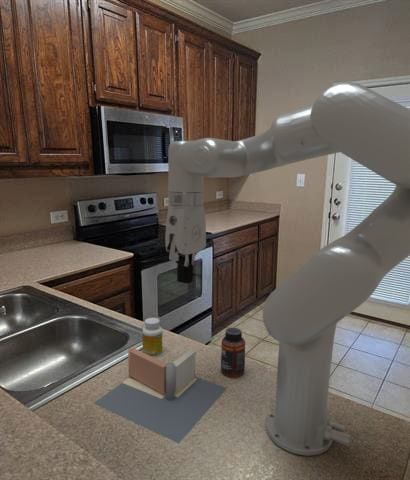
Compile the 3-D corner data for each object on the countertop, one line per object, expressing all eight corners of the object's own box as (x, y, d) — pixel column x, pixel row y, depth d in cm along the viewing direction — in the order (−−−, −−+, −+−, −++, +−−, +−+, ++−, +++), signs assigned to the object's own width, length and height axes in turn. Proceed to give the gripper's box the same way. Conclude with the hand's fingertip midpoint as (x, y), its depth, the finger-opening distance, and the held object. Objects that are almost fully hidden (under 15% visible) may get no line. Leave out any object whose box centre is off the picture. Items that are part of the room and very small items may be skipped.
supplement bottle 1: (158, 359, 94) (158, 325, 93) (139, 357, 95) (139, 323, 94) (164, 350, 100) (164, 317, 98) (146, 347, 101) (146, 315, 99)
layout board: (227, 389, 82) (228, 356, 80) (178, 445, 65) (179, 404, 63) (152, 362, 93) (151, 333, 91) (93, 404, 76) (92, 368, 74)
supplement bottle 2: (247, 369, 90) (249, 328, 88) (239, 382, 85) (241, 338, 83) (225, 364, 93) (227, 323, 91) (216, 375, 87) (218, 333, 85)
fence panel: (168, 391, 79) (168, 364, 78) (163, 394, 78) (163, 367, 77) (132, 372, 86) (131, 347, 85) (127, 375, 85) (126, 349, 84)
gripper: (181, 203, 68) (180, 294, 71) (217, 199, 81) (215, 276, 84) (150, 201, 72) (151, 287, 75) (189, 197, 84) (188, 271, 88)
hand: (185, 281), depth 80 cm, fingers closed
